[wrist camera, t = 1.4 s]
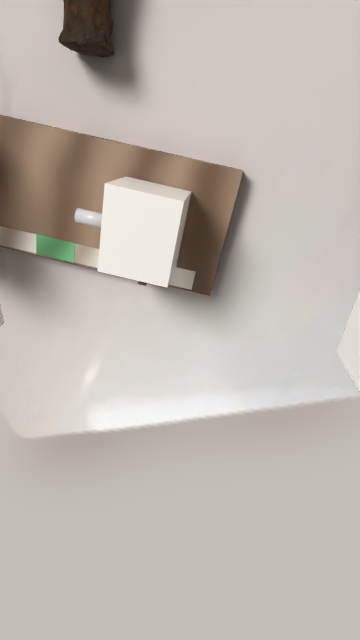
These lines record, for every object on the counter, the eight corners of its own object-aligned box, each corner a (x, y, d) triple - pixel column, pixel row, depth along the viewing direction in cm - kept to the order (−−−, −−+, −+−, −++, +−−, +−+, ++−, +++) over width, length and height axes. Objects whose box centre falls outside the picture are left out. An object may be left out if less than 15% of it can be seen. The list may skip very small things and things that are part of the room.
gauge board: (242, 170, 30) (248, 179, 21) (210, 290, 35) (205, 334, 27) (-79, 96, 30) (-195, 78, 22) (-59, 227, 36) (-145, 251, 28)
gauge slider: (191, 191, 29) (183, 201, 24) (171, 288, 34) (162, 314, 29) (93, 169, 30) (65, 174, 24) (87, 268, 34) (62, 291, 29)
